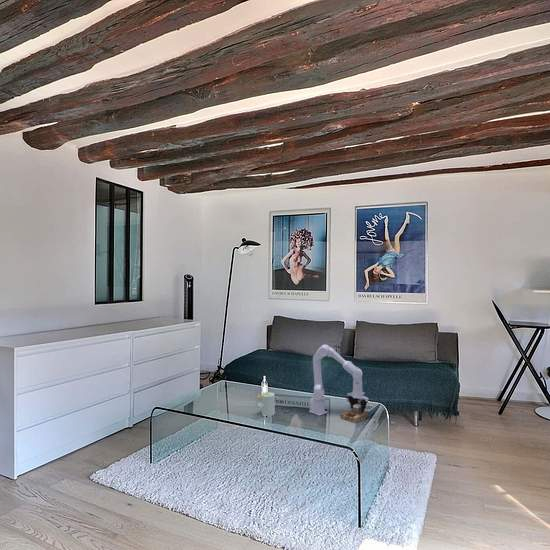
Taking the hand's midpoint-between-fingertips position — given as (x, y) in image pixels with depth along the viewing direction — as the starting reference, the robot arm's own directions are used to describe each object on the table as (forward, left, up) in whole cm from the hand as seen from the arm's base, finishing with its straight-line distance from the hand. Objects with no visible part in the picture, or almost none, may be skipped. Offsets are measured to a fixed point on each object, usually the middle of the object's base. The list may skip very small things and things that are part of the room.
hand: (357, 409), depth 261 cm
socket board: (0, -3, -4) cm, 5 cm away
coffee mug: (-10, +11, -4) cm, 15 cm away
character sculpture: (-43, -39, -4) cm, 58 cm away
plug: (0, 0, -4) cm, 4 cm away
